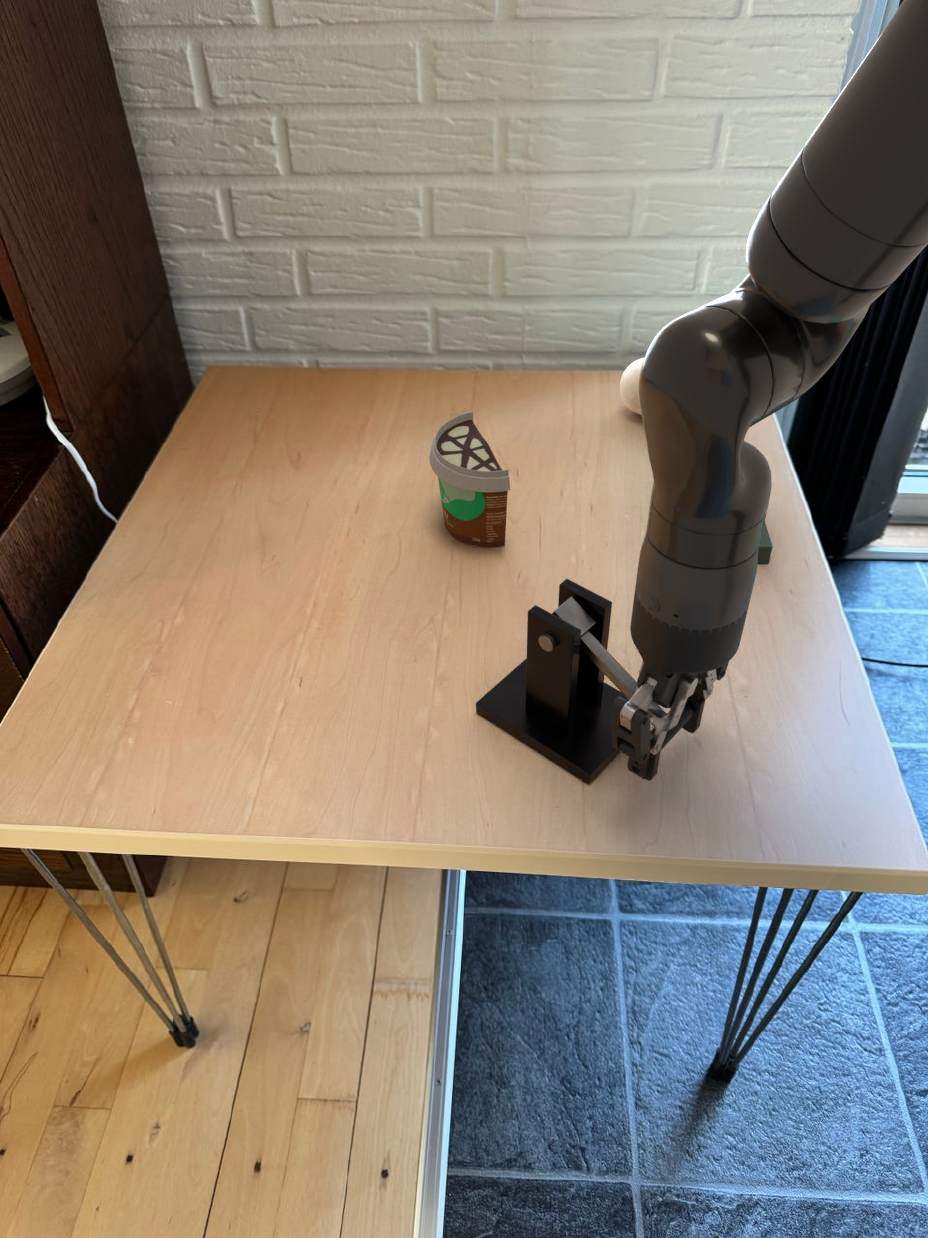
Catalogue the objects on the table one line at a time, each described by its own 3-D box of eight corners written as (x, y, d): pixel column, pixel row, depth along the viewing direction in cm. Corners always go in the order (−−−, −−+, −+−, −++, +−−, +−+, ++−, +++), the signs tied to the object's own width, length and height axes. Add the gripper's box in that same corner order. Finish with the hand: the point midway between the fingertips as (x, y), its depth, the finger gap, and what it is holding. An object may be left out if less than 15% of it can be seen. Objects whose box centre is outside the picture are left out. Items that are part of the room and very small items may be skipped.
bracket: (651, 719, 82) (669, 609, 73) (588, 785, 77) (599, 675, 69) (540, 655, 88) (544, 546, 79) (475, 712, 83) (472, 603, 75)
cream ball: (688, 416, 117) (696, 366, 112) (636, 430, 115) (642, 380, 110) (658, 390, 121) (664, 341, 117) (608, 404, 119) (612, 354, 115)
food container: (419, 498, 106) (414, 419, 99) (472, 487, 107) (471, 408, 101) (452, 566, 98) (448, 485, 91) (509, 553, 99) (510, 472, 92)
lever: (685, 720, 76) (702, 709, 74) (646, 762, 73) (662, 752, 71) (571, 599, 78) (584, 585, 76) (528, 635, 75) (540, 622, 73)
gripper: (683, 674, 58) (653, 834, 70) (796, 557, 66) (752, 718, 78) (582, 620, 62) (570, 780, 74) (700, 514, 70) (672, 675, 81)
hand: (663, 748), depth 76 cm, fingers closed on lever, 5 cm apart
